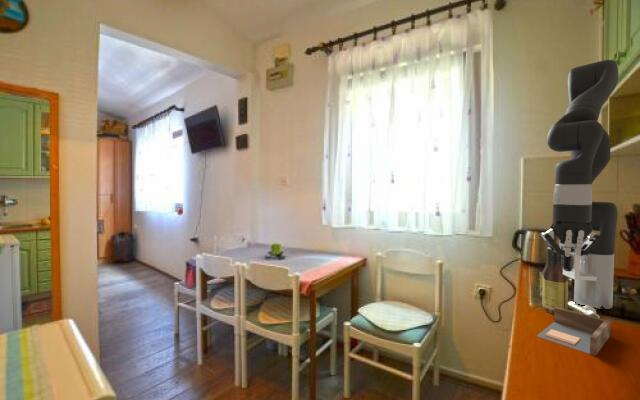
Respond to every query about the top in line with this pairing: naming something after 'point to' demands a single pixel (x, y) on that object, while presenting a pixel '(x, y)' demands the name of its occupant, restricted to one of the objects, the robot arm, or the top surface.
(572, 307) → the pipe fitting
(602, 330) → the walnut corner walls
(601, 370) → the top surface
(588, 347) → the grey base plate
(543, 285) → the sauce bottle
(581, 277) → the aluminium bracket
